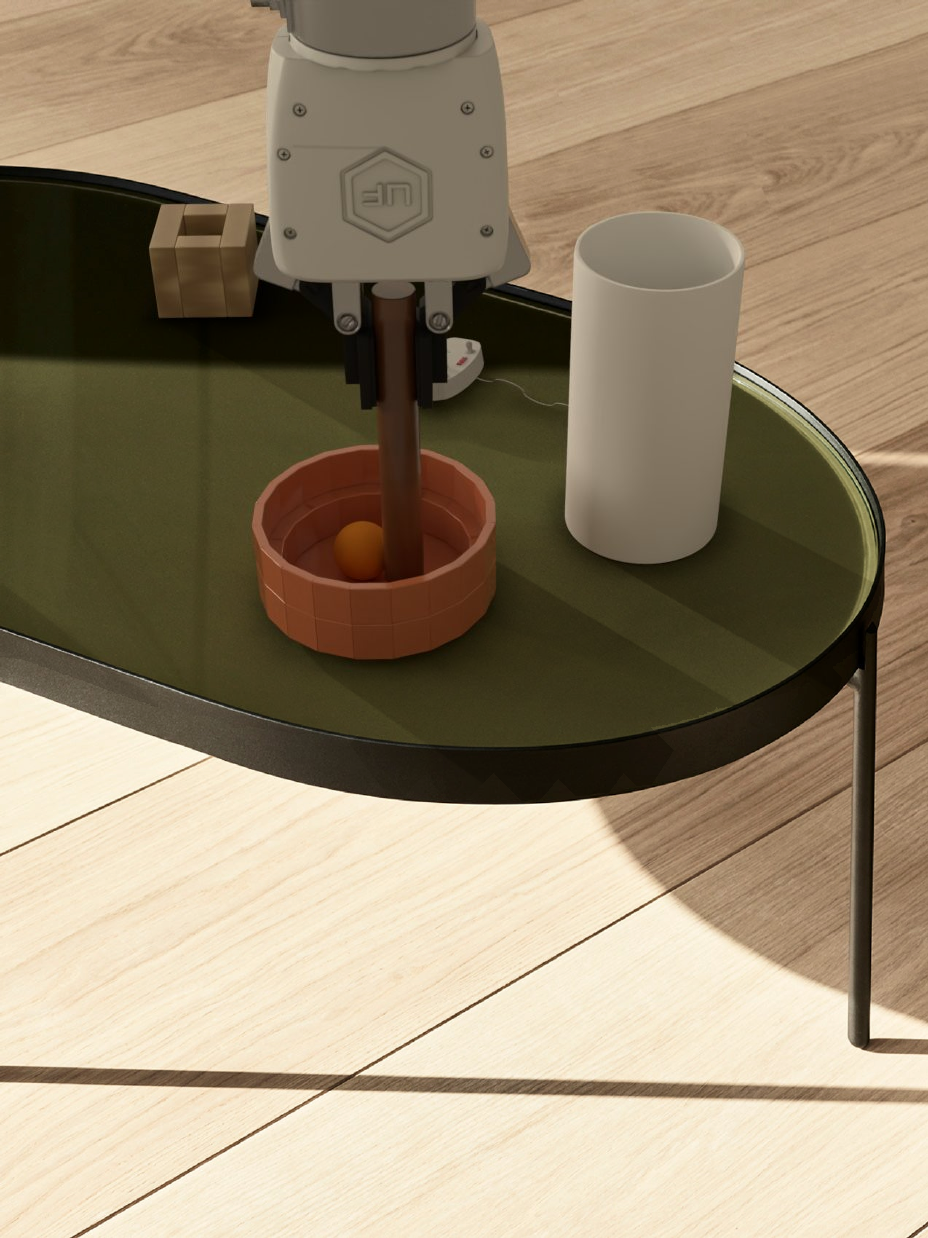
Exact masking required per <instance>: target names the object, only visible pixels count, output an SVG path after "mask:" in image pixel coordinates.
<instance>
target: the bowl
mask: <svg viewBox="0 0 928 1238" xmlns="http://www.w3.org/2000/svg"><path fill="white" fill-rule="evenodd" d="M420 449H421V482H422V515H423V549H424V575H423V576H418V577H414V578H409V579H404V580H400V581H395V582H390V583H388V582H387V581H386V579H385V572H384V571H383V572H382V573H381V574H380V575H379V576H377V577H375V578H372V579H368V580H357V579H353V578H351V577H349V576H347V575H346V574H344V573H343V572H342V571H341V570H340V569H339V567H338V566H337V564H336V562H335V559H334V554H333V547H334V542H335V539H336V537H337V535H338V534H339V533H340V531H341V530H342V529H343V528H344V527H346V526H347V525H349V524H351V523H354V522H359V521H366V522H371V523H374V524H376V525H378V526H380V527H381V528H382V510H381V489H380V469H379V448H378V444H357V445H352V446H348V447H343V448H338V449H332V450H329V451H328V450H327V451H323V452H321V453H319V454H316V455H314V456H311V457H308V458H306V459H305V460H301V461H299V462H296V463H294V464H292V465H291V466H290V467H288V468H287V469H286V470H284V471H283V472H282V473H281V474H279V475H278V476H276V477H275V478H273V479H272V480H271V481H270V482H269V483H268V484H267V486H266V487H265V489H264V490H263V492H262V493H261V495H260V496H259V497H258V499H257V500H256V502H255V503H254V508H253V516H252V522H251V531H252V538H253V539H252V540H253V549H254V556H255V557H254V558H255V563H256V564H255V565H256V566H255V567H256V575H257V584H258V589H259V590H258V591H259V596H260V597H259V598H260V599H261V602H262V605H263V607H264V609H265V612H266V615H267V617H268V618H269V620H271V622H272V623H273V624H274V625H276V627H277V628H279V630H280V631H282V633H283V634H285V635H286V636H287V638H289V639H291V640H293V641H296V642H297V643H299V644H301V645H303V646H305V647H307V648H310V649H312V650H314V651H315V652H319V653H323V654H328V655H333V656H338V657H343V658H347V659H351V660H394V659H399V658H403V657H409V656H412V655H416V654H421V653H425V652H430V651H433V650H434V649H435V650H436V649H437V648H439V647H441V646H443V645H445V644H447V643H449V642H452V641H453V640H455V639H458V638H460V637H461V636H463V635H464V634H465V633H466V632H467V631H468V630H470V629H471V628H472V627H473V626H474V625H475V624H476V623H477V622H478V621H479V620H480V619H482V617H483V616H484V615H486V614H487V613H486V612H487V611H488V608H489V607H490V604H491V602H492V600H493V599H494V596H495V594H496V591H497V516H496V515H497V514H496V513H497V512H496V510H497V509H496V500H495V498H494V496H493V495H492V493H491V491H490V489H489V488H488V485H486V483H485V480H484V479H483V478H481V477H480V476H479V475H478V474H476V473H475V472H474V471H472V470H471V469H470V468H469V467H467V466H466V465H465V464H463V463H462V462H461V461H458V460H456V459H453V458H451V457H448V456H446V455H443V454H441V453H438V452H436V451H434V450H430V449H424V448H420Z"/></svg>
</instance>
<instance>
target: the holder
mask: <svg viewBox="0 0 928 1238" xmlns="http://www.w3.org/2000/svg"><path fill="white" fill-rule="evenodd" d="M159 208H160V209H159V212H158V215H157V219H156V223H155V227H154V229H153V233H152V237H151V240H150V243H149V247H148V250H149V257H150V264H151V272H152V279H153V285H154V286H153V287H154V293H155V299H156V306H157V312H158V313H157V314H158V318H159V319H183V318H186V319H187V318H227V317H228V318H252V317H253V314H254V309H255V302H256V298H257V293H258V286H259V280H260V279H259V278H258V277H256V275H255V274H254V271H253V267H254V261H255V256H256V252H257V249H258V246H259V244H258V235H257V225H256V216H255V215H256V214H255V203H253V202H251V203H249V202H248V203H247V202H246V203H241V202H240V203H187V204H186V203H178V204H177V203H169V204H168V203H167V204H165V203H163V204H161V205H160V207H159Z"/></svg>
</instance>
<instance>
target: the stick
mask: <svg viewBox="0 0 928 1238" xmlns="http://www.w3.org/2000/svg"><path fill="white" fill-rule="evenodd" d="M370 299H371V301H370V302H371V308H372V323H373V328H374V348H375V369H376V391H377V407H376V425H377V445H378V448H379V469H380V489H381V510H382V531H383V552H384V572H385V579H386V581H387V582H388V583H390V582H395V581H400V580H404V579H409V578H414V577H418V576H423V575H424V549H423V515H422V482H421V449H422V448H421V418H420V406H417V379H416V348H415V328H416V326H417V315H416V307H417V290H416V287H415V286H414V284H412V282H376V283H375V284H374V285H373V286H372V288H371V289H370Z"/></svg>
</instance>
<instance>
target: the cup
mask: <svg viewBox="0 0 928 1238" xmlns="http://www.w3.org/2000/svg"><path fill="white" fill-rule="evenodd" d="M574 245H575V246H574V251H573V269H572V270H573V273H572V274H573V275H572V296H571V297H572V299H571V301H572V302H571V326H570V327H571V328H570V353H569V355H570V356H569V357H570V358H569V382H568V383H569V384H568V385H569V387H568V405H569V406H568V413H567V439H566V440H567V442H566V446H567V447H566V470H565V471H566V473H565V504H564V520H565V524H566V527H567V529H568V531H569V533H570V534H571V536H572V537H573V538H574V539H575V540H576V541H577V542H578V543H579V544H580V545H582V546H583V547H585V548H586V549H588V550H589V551H591V552H593V553H595V554H597V555H599V556H600V557H604V558H607V559H610V560H614V561H618V562H622V563H628V564H638V565H640V564H641V565H653V564H662V563H664V564H665V563H668V562H673V561H678V560H680V559H684V558H686V557H689V556H691V555H693V554H695V553H697V552H698V551H700V550H702V549H703V548H704V547H705V546H707V544H709V542H710V541H711V540H712V538H713V537H714V535H715V533H716V531H717V527H718V521H719V520H718V518H719V510H720V501H721V490H722V481H723V473H724V464H725V453H726V445H727V436H728V426H729V417H730V408H731V399H732V388H733V381H734V380H733V379H734V371H735V361H736V354H737V353H736V352H737V344H738V343H737V342H738V333H739V324H740V315H741V306H742V297H743V286H744V277H745V267H746V250H745V247H744V245H743V243H742V241H741V239H740V238H739V237H737V235H736V234H735V233H733V232H732V231H731V230H729V229H727V228H726V227H725V226H723V225H721V224H719V223H717V222H714V221H712V220H709V219H706V218H703V217H700V216H696V215H692V214H689V213H688V214H687V213H683V212H682V213H681V212H675V211H661V210H660V211H658V210H657V211H656V210H655V211H653V210H652V211H651V210H649V211H636V212H627V213H621V214H617V215H614V216H610V217H607V218H604V219H602V220H600V221H597V222H595V223H594V224H591V225H590V226H589V227H587V228H586V229H585V230H584V231H582V232H581V234H580V235H579V236H578V238H577V239H576V242H575V244H574Z"/></svg>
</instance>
